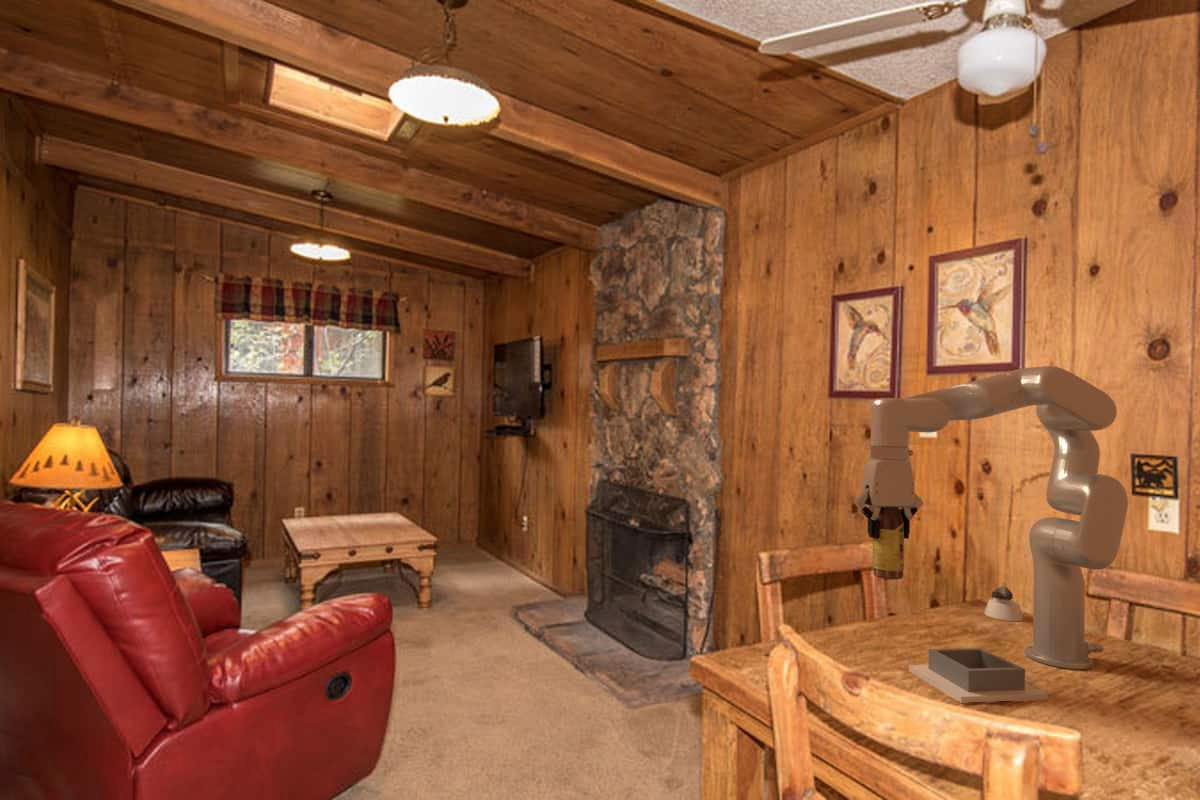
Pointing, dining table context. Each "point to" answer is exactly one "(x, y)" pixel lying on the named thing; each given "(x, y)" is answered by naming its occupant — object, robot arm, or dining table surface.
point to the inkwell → (1003, 606)
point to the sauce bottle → (889, 544)
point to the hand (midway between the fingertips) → (888, 536)
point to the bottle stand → (976, 676)
